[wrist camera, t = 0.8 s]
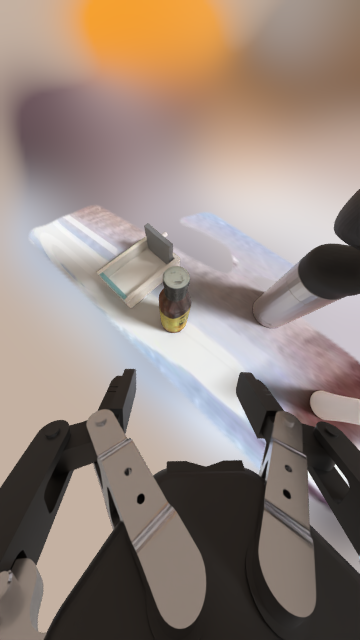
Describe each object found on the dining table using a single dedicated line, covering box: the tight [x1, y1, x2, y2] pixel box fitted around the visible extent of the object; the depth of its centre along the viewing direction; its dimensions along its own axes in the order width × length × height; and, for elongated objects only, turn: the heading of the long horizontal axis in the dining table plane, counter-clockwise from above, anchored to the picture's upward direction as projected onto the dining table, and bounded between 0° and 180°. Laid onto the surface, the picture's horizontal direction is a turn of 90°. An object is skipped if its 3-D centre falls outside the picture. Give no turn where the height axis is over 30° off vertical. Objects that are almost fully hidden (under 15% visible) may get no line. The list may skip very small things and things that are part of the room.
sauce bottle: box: [159, 266, 191, 333], centre depth 34 cm, size 7×6×20 cm
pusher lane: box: [97, 237, 180, 308], centre depth 46 cm, size 18×12×4 cm, turn 136°
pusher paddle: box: [144, 223, 173, 264], centre depth 45 cm, size 3×9×8 cm, turn 45°
